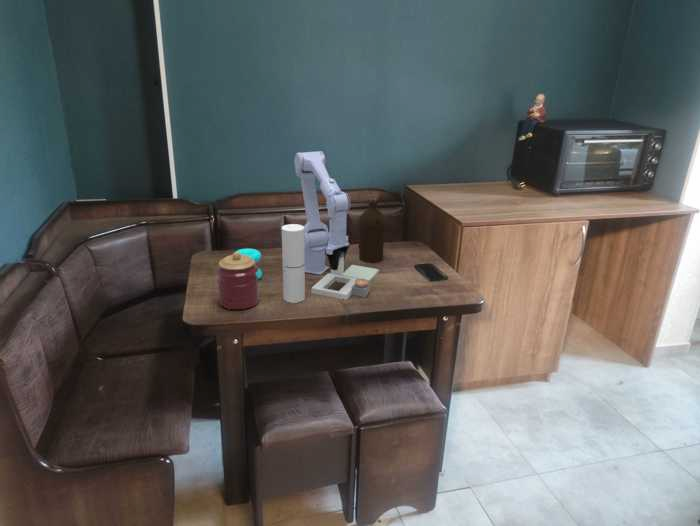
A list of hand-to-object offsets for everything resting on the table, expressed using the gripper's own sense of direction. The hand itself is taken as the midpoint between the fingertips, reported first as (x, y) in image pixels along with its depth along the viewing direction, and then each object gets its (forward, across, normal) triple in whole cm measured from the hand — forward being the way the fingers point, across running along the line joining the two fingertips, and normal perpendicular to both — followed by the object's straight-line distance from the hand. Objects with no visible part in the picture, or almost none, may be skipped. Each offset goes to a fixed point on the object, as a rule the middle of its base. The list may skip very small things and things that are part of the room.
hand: (337, 267), depth 183 cm
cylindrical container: (+8, -13, +10) cm, 18 cm away
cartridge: (+2, 0, 0) cm, 2 cm away
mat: (+8, +15, -3) cm, 17 cm away
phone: (+9, +28, -26) cm, 39 cm away
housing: (+8, 0, -3) cm, 9 cm away
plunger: (+8, 0, -9) cm, 12 cm away
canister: (+8, -23, +25) cm, 35 cm away
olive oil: (+8, +32, -1) cm, 33 cm away
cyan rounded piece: (+9, -5, +33) cm, 34 cm away
